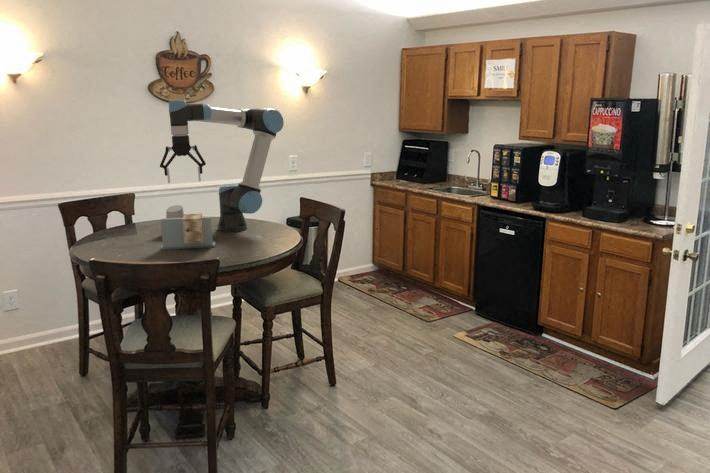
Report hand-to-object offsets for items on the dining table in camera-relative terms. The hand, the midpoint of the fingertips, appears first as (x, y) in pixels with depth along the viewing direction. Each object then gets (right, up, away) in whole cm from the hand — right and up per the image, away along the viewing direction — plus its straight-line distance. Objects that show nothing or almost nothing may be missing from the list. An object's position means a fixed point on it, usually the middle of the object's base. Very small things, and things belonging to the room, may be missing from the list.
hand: (184, 181), depth 269 cm
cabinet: (+5, -27, -3) cm, 27 cm away
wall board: (+1, -30, +2) cm, 30 cm away
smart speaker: (-12, -24, +28) cm, 39 cm away
